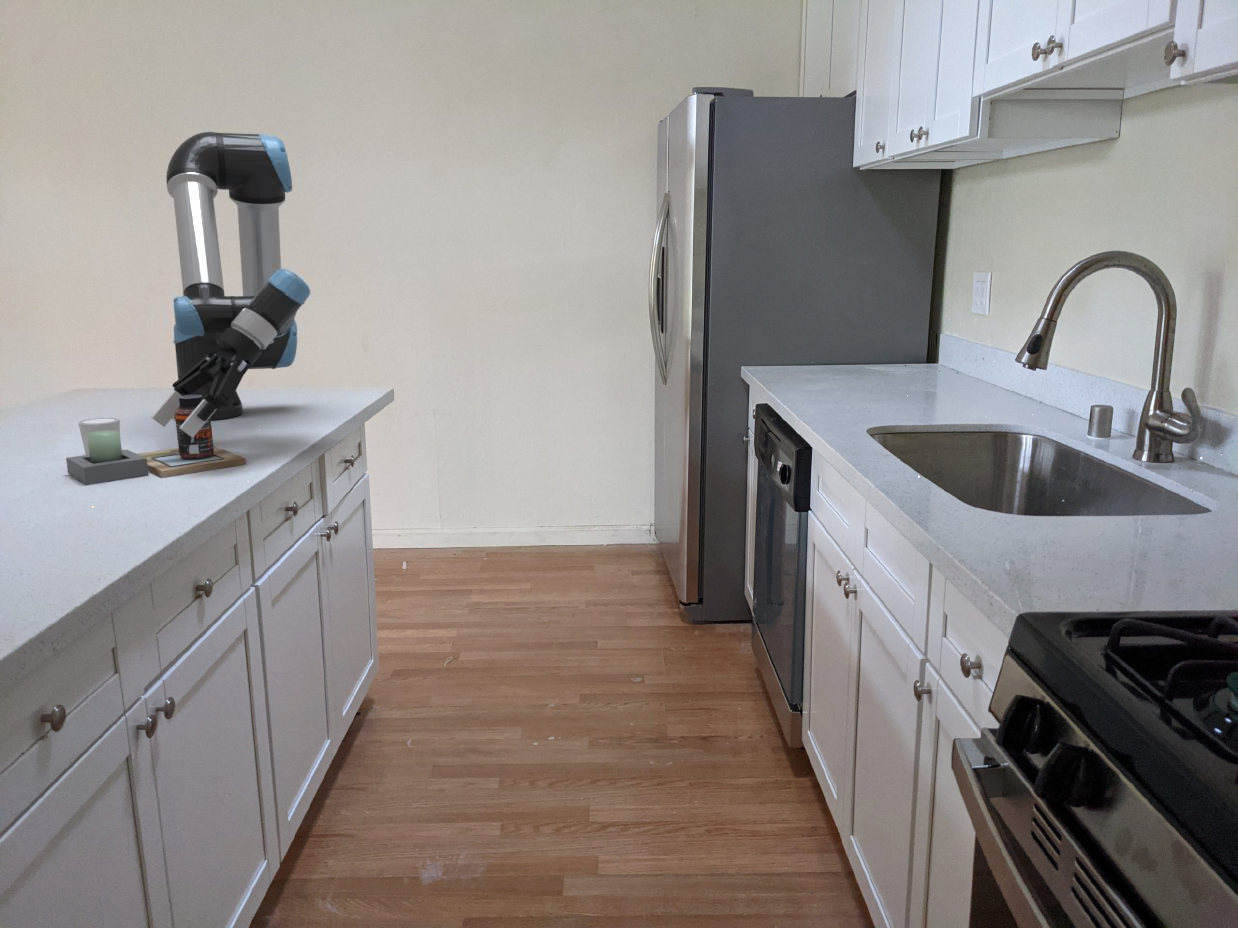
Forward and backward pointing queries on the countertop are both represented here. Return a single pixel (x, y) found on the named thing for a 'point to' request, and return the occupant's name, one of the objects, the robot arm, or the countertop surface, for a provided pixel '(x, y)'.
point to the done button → (104, 446)
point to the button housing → (107, 468)
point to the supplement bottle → (203, 439)
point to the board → (189, 462)
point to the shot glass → (97, 428)
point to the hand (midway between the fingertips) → (171, 427)
